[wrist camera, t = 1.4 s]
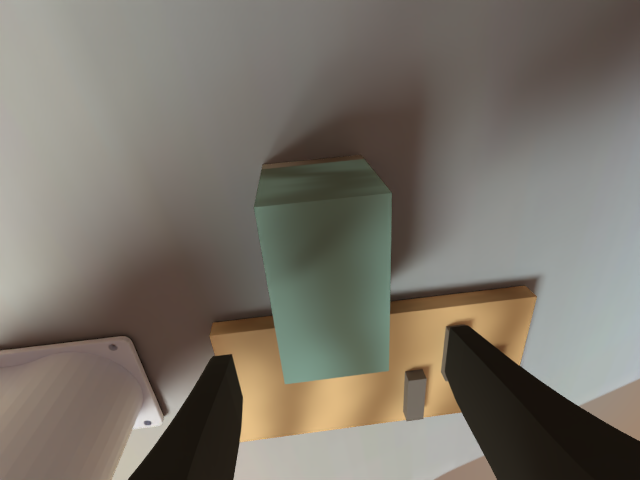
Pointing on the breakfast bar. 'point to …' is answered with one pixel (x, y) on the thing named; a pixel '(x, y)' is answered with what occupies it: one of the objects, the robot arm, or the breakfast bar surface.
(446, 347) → the small grey brown block
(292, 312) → the block
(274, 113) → the breakfast bar surface
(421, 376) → the small grey brown block
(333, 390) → the oak board
